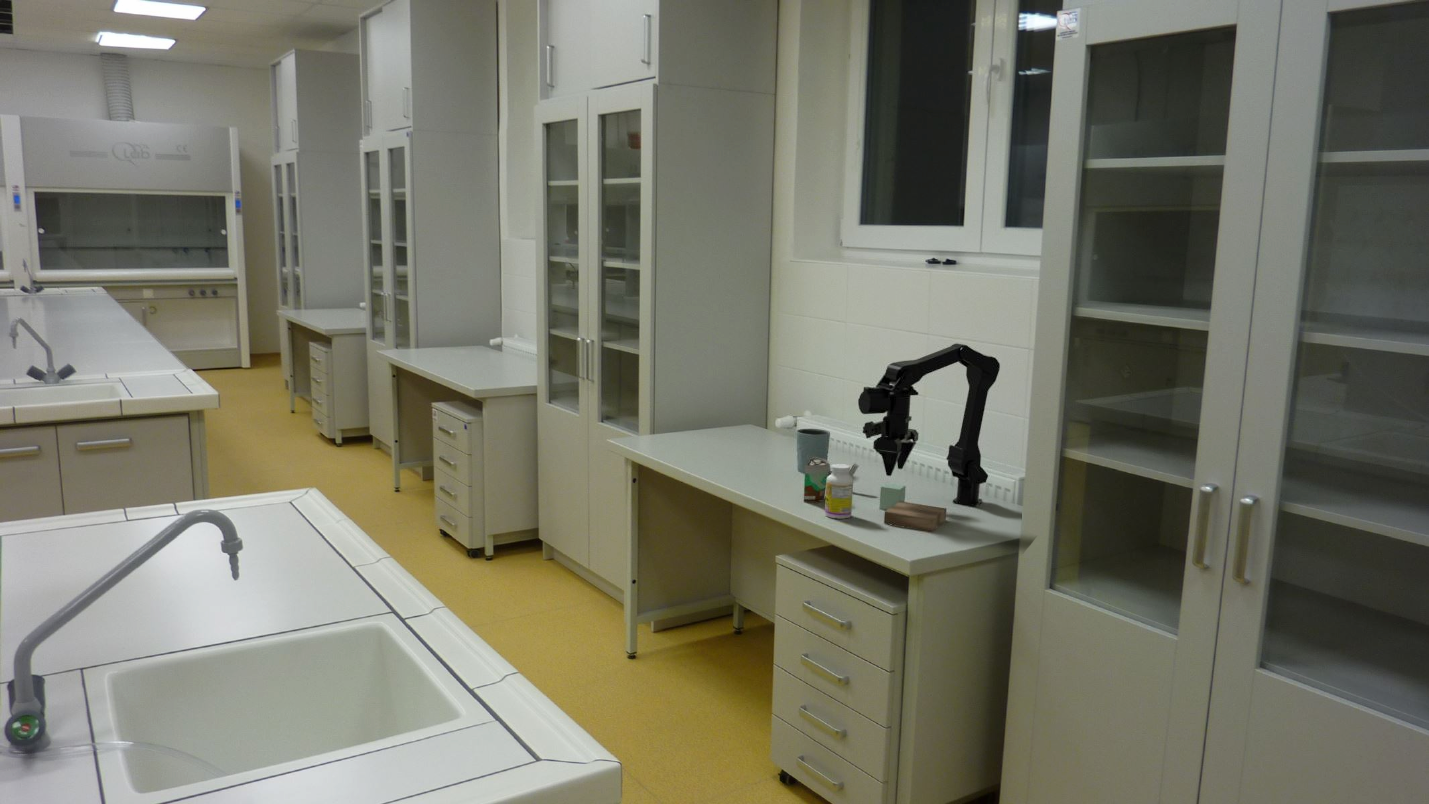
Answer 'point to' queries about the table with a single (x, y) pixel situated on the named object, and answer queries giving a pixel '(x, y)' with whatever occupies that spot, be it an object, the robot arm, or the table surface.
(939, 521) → the walnut base
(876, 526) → the table surface
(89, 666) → the table surface
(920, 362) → the robot arm
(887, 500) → the green block
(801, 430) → the grey plant pot
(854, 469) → the lighter
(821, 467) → the food container
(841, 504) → the supplement bottle
